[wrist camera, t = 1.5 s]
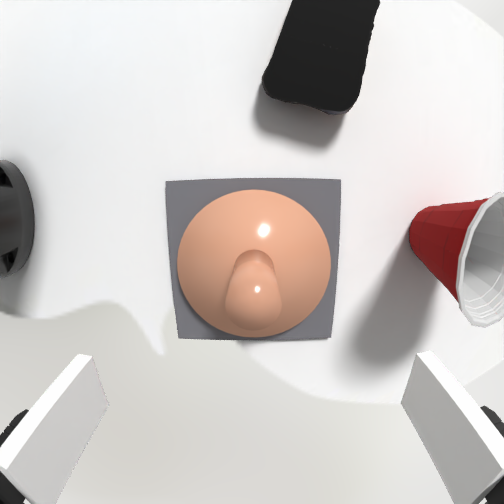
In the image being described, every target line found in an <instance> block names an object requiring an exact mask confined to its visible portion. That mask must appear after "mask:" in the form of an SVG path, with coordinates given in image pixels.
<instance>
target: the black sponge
mask: <svg viewBox="0 0 504 504" xmlns="http://www.w3.org/2000/svg"><path fill="white" fill-rule="evenodd" d="M379 5H380V0H293V1H292V3H291V6H290V8H289V11H288V14H287V16H286V19H285V22H284V25H283V27H282V30H281V33H280V36H279V38H278V41H277V44H276V47H275V50H274V53H273V55H272V58H271V60H270V62H269V65H268V66H267V68H266V70H265V71H264V74H263V76H262V84H263V87H264V90H265V91H266V93H267V94H268V95H269V96H270V97H271V98H275V99H278V100H281V101H284V102H289V103H295V104H303V105H307V106H311V107H313V108H316V109H318V110H321V111H323V112H325V113H326V114H333V115H337V114H344V113H347V112H348V111H349V110H350V109H351V108H352V107H353V105H354V103H355V102H356V100H357V98H358V96H359V93H360V89H361V84H362V76H363V74H364V71H365V66H366V58H367V54H368V46H369V42H370V40H371V35H372V30H373V27H374V23H373V22H374V18H375V15H376V12H377V9H378V7H379Z"/></svg>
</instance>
